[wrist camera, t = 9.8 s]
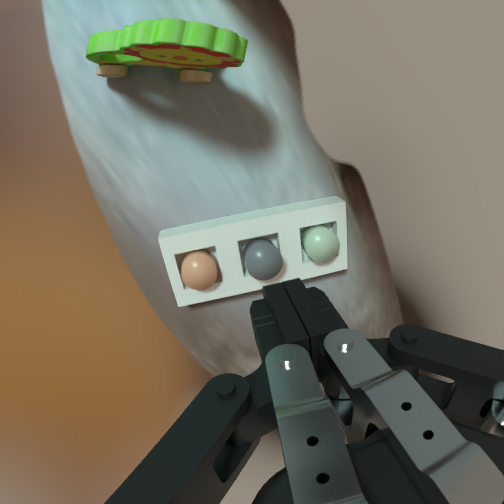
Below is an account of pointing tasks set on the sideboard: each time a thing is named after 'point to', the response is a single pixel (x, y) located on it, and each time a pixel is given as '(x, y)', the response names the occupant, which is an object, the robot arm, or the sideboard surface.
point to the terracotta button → (199, 269)
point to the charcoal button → (262, 259)
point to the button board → (243, 231)
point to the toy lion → (167, 48)
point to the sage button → (320, 243)
